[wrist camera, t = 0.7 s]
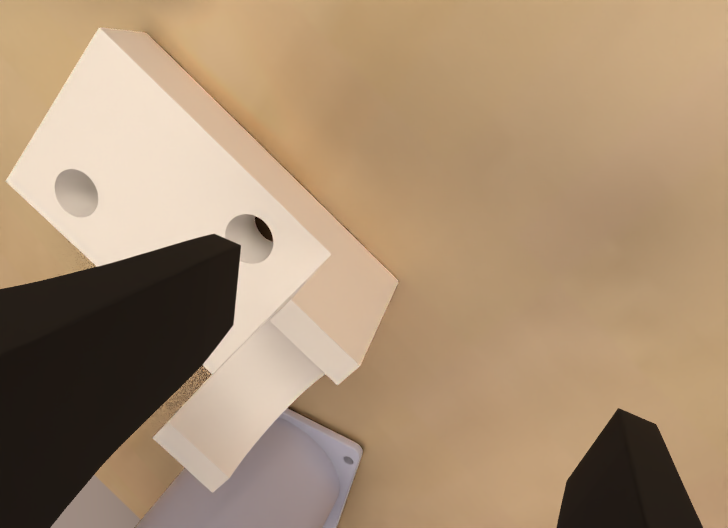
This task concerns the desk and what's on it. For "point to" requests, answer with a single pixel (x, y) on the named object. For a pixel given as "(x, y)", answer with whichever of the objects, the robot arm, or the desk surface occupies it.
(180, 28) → the desk surface
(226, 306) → the robot arm
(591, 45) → the desk surface
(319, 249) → the bracket
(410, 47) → the desk surface
